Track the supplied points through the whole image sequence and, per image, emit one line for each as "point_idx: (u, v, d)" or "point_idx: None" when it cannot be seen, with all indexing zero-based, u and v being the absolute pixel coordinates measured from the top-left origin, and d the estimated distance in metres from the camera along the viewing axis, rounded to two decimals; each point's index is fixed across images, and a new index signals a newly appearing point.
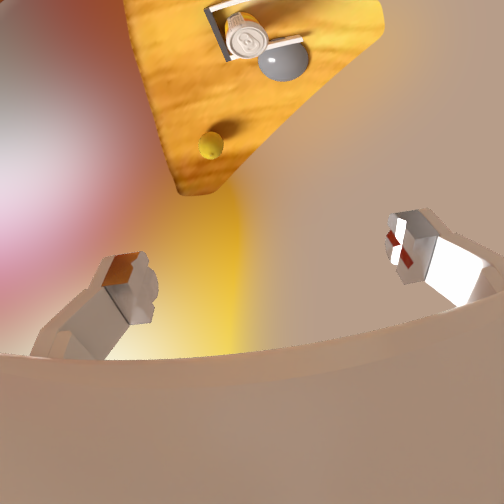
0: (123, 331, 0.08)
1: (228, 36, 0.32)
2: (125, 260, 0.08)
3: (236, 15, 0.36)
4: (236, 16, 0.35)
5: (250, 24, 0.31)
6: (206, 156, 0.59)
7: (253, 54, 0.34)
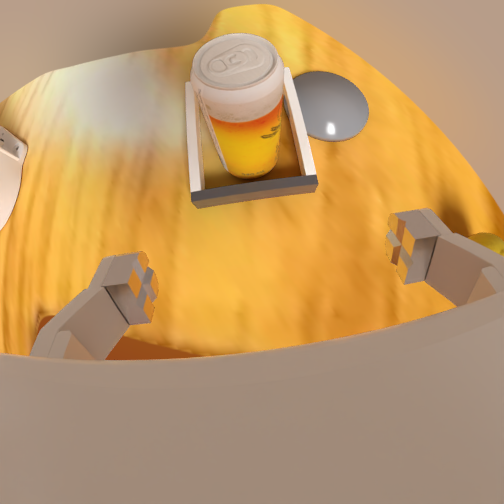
0: (123, 331, 0.08)
1: (211, 95, 0.15)
2: (125, 260, 0.08)
3: None
4: None
5: None
6: None
7: (270, 55, 0.15)
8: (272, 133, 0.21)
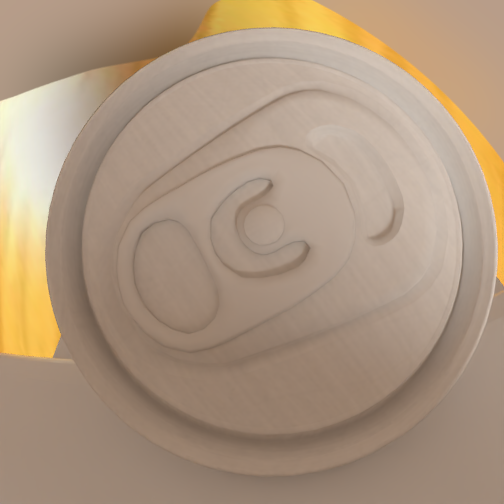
0: None
1: None
2: None
3: None
4: None
5: None
6: None
7: (450, 191, 0.03)
8: None
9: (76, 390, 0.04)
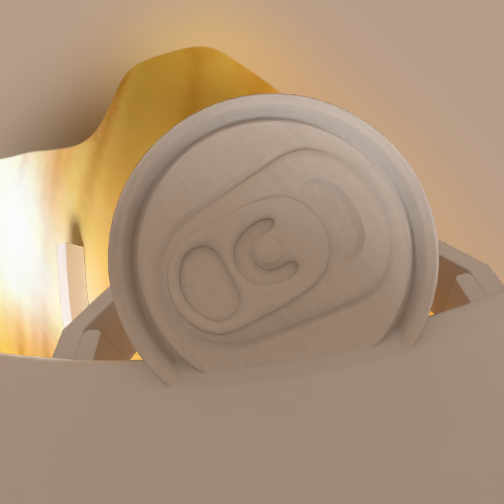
0: None
1: None
2: None
3: None
4: None
5: None
6: None
7: (405, 222, 0.04)
8: None
9: (76, 390, 0.04)
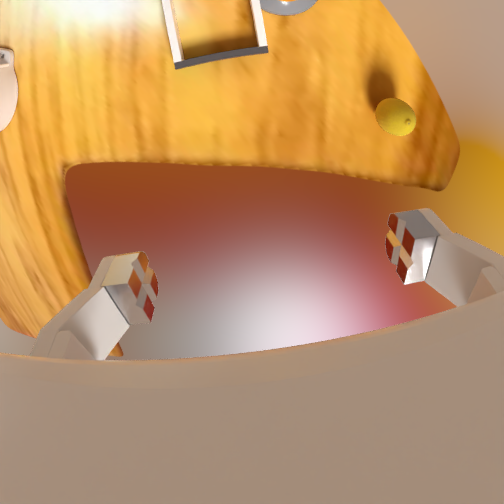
0: (123, 331, 0.08)
1: None
2: (125, 260, 0.08)
3: None
4: None
5: None
6: (408, 129, 0.32)
7: None
8: None
9: (76, 390, 0.04)
